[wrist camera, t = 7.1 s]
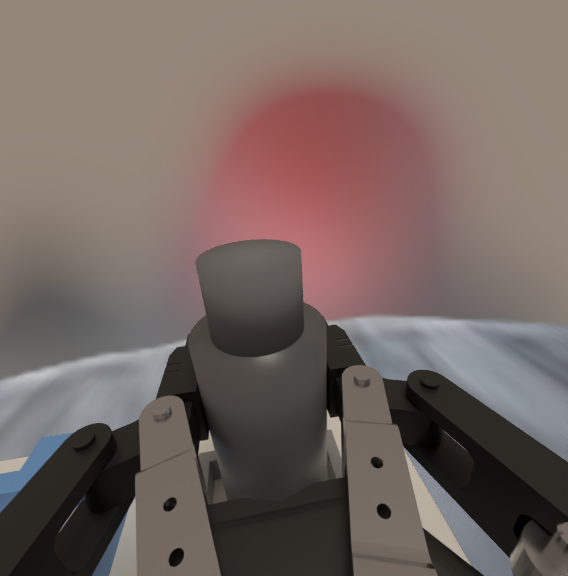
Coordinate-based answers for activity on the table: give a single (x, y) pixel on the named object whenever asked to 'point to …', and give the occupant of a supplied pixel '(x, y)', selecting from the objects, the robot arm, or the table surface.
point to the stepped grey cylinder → (261, 369)
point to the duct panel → (122, 549)
